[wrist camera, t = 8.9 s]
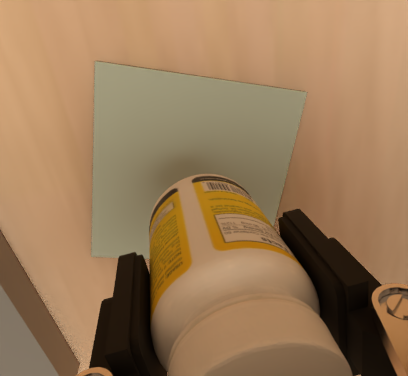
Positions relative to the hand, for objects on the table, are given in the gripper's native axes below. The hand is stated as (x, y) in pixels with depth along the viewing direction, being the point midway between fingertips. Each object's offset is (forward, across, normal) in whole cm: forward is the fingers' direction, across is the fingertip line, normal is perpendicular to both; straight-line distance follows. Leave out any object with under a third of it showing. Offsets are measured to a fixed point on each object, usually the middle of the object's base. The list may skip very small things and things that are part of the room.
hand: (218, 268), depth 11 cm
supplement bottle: (+4, 0, 0) cm, 4 cm away
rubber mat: (+10, 0, 0) cm, 10 cm away
